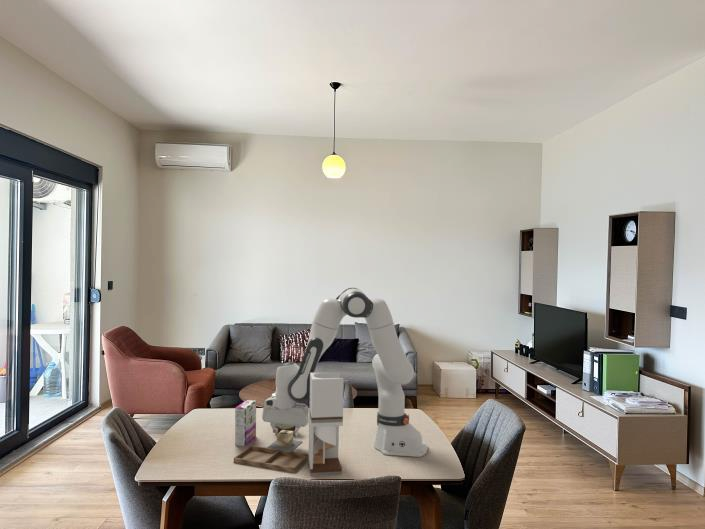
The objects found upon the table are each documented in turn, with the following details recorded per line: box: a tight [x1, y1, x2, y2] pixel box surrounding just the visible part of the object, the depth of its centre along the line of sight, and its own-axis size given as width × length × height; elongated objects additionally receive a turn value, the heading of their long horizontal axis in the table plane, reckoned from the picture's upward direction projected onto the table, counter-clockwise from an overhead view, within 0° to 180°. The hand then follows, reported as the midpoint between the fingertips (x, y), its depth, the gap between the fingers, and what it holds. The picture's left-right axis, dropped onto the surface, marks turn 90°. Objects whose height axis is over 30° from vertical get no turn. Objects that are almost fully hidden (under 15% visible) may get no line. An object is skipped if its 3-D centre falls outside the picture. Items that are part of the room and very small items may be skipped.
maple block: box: [276, 430, 294, 447], centre depth 190 cm, size 5×5×5 cm
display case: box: [307, 371, 345, 477], centre depth 169 cm, size 11×11×35 cm
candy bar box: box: [234, 399, 257, 447], centre depth 194 cm, size 11×5×16 cm, turn 168°
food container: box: [275, 423, 297, 433], centre depth 206 cm, size 12×6×10 cm, turn 84°
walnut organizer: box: [233, 445, 309, 474], centre depth 174 cm, size 26×13×2 cm, turn 72°
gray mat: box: [266, 439, 303, 452], centre depth 189 cm, size 11×11×1 cm
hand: (285, 434), depth 190 cm, fingers open, 8 cm apart
